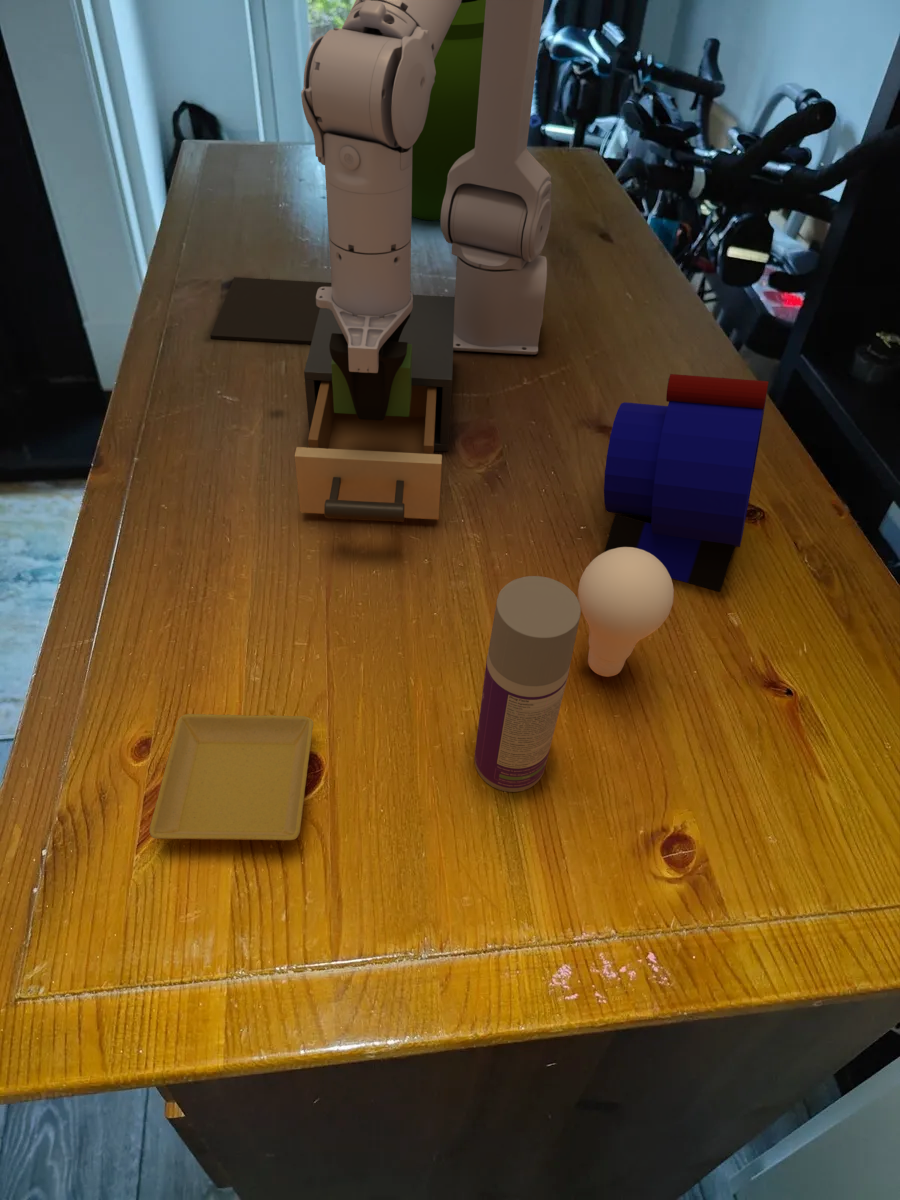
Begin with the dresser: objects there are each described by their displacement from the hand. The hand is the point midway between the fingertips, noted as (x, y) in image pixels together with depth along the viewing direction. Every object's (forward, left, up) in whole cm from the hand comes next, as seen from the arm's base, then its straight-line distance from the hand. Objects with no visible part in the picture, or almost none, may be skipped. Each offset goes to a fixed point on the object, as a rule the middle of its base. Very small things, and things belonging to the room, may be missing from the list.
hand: (373, 402), depth 69 cm
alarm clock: (-25, +4, -8) cm, 27 cm away
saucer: (+6, +31, -8) cm, 33 cm away
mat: (+10, -28, -8) cm, 31 cm away
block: (0, 0, 0) cm, 0 cm away
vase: (-3, -58, -8) cm, 58 cm away
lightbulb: (-18, +20, -8) cm, 28 cm away
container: (-11, +28, -8) cm, 31 cm away
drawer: (0, +1, -7) cm, 7 cm away
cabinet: (0, -12, -8) cm, 14 cm away
